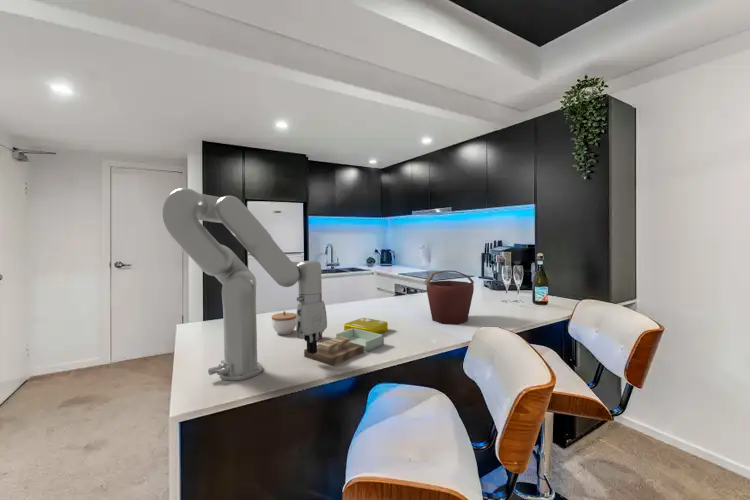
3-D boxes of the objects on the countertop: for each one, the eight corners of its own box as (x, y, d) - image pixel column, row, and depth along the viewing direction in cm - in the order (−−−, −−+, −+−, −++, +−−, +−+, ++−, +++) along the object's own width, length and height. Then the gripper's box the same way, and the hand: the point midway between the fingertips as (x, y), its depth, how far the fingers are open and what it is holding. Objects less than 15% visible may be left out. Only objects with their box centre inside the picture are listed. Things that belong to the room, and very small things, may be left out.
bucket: (423, 324, 160) (423, 272, 158) (424, 314, 181) (424, 268, 180) (476, 326, 155) (477, 273, 154) (471, 315, 177) (471, 268, 176)
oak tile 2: (340, 348, 119) (340, 342, 119) (330, 345, 122) (330, 339, 122) (349, 345, 123) (349, 338, 123) (340, 342, 126) (340, 336, 126)
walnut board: (332, 366, 110) (332, 358, 109) (304, 356, 118) (304, 349, 118) (363, 352, 122) (363, 345, 122) (336, 344, 131) (336, 338, 131)
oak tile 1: (328, 353, 114) (328, 346, 114) (318, 350, 117) (318, 343, 117) (338, 349, 118) (338, 342, 118) (328, 346, 121) (328, 340, 121)
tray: (367, 352, 122) (367, 341, 122) (336, 343, 132) (336, 333, 132) (383, 345, 130) (383, 335, 130) (353, 337, 140) (353, 328, 140)
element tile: (342, 333, 147) (342, 323, 147) (363, 326, 159) (363, 316, 159) (369, 339, 138) (369, 328, 138) (389, 331, 150) (389, 320, 150)
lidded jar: (286, 327, 155) (286, 307, 155) (302, 331, 149) (301, 310, 148) (266, 333, 146) (266, 312, 146) (282, 337, 140) (282, 315, 140)
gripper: (299, 303, 102) (301, 362, 103) (334, 295, 114) (335, 348, 115) (284, 300, 107) (286, 357, 108) (319, 293, 119) (320, 344, 120)
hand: (312, 352), depth 111 cm, fingers closed
